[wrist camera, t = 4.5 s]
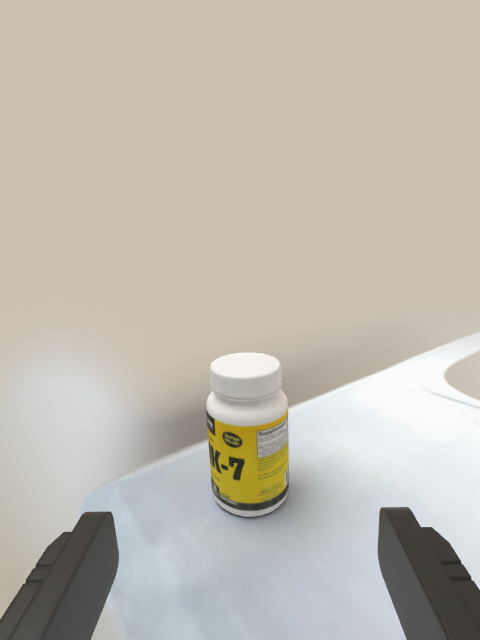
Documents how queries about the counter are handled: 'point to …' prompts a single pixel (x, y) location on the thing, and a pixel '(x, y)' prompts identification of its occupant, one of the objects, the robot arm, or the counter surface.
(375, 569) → the counter surface
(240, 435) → the supplement bottle
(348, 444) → the counter surface
